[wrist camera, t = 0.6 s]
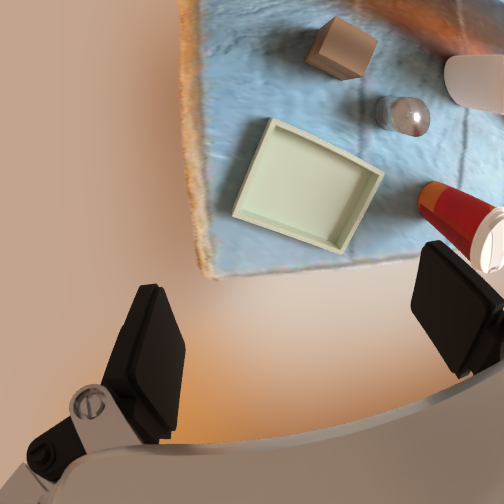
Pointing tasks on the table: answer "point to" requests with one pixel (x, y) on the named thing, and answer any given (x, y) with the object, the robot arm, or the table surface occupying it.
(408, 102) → the metal cylinder
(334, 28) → the walnut block
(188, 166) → the table surface
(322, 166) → the parts tray
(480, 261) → the coffee cup
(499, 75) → the beverage can
